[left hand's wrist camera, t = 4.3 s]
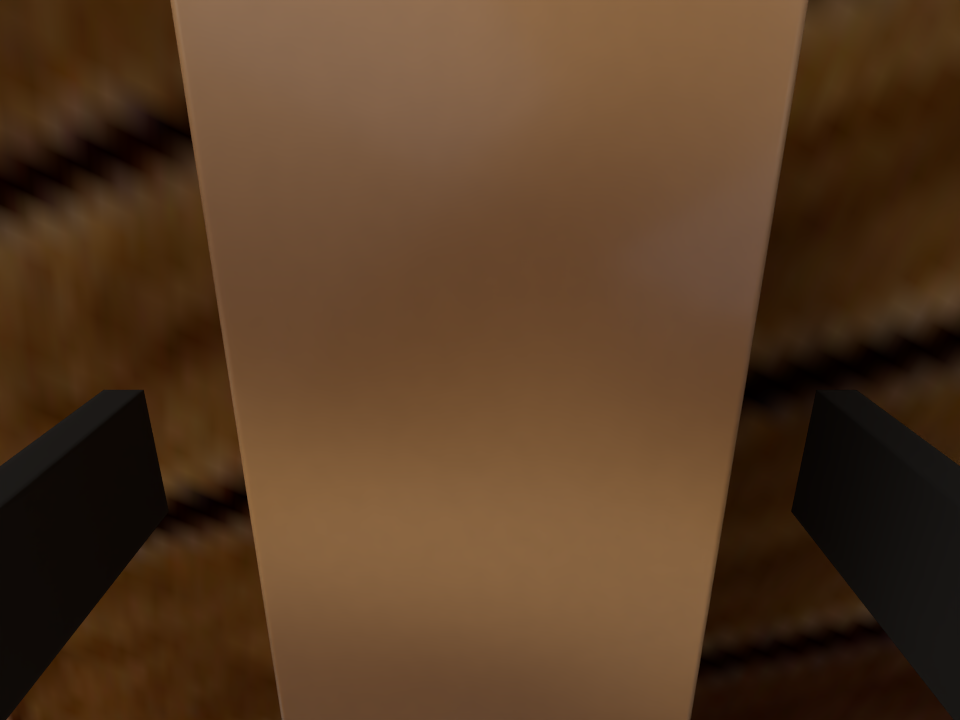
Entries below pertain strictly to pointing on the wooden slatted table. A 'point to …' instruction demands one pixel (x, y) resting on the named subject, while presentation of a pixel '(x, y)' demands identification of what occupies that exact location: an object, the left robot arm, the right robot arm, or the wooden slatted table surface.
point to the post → (487, 333)
